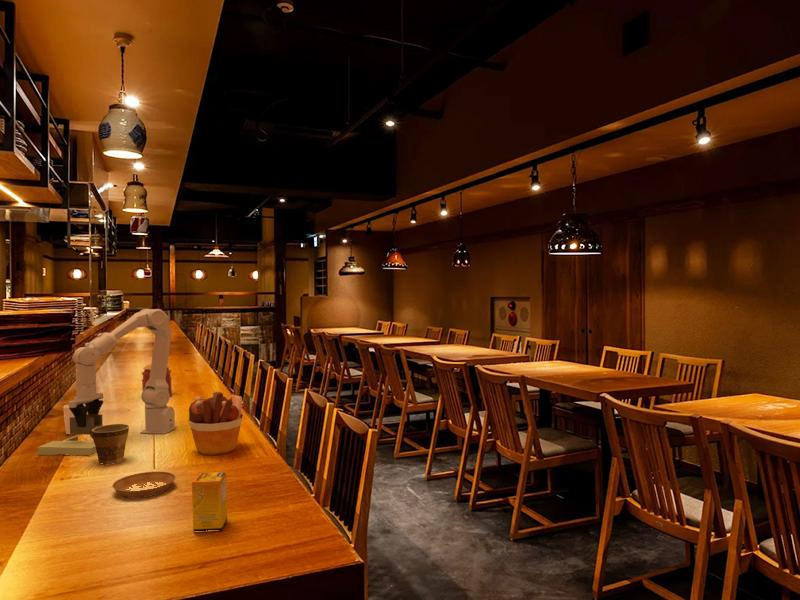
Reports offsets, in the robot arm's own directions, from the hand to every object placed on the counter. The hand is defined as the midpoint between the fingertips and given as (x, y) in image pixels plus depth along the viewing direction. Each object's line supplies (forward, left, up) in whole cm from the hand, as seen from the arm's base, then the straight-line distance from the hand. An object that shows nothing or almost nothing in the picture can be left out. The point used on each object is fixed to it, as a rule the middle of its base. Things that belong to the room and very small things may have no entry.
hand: (87, 424), depth 186 cm
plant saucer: (-42, +37, -7) cm, 56 cm away
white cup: (+15, -15, -7) cm, 22 cm away
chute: (0, 0, -2) cm, 3 cm away
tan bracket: (0, +4, -7) cm, 8 cm away
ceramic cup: (-17, +15, -7) cm, 24 cm away
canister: (+21, -79, -7) cm, 82 cm away
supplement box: (-69, +57, -7) cm, 90 cm away
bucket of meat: (-46, +3, -7) cm, 47 cm away
